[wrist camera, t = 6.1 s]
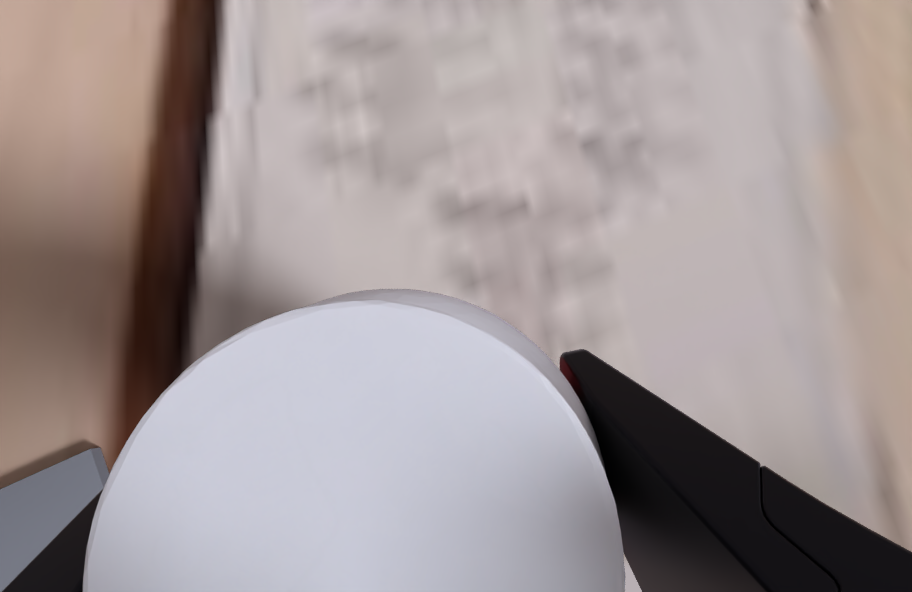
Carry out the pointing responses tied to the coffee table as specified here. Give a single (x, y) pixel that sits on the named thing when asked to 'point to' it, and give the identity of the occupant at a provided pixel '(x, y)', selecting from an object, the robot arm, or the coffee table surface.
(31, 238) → the coffee table surface
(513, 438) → the pill bottle
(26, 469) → the coffee table surface
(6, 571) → the mat
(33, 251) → the coffee table surface
